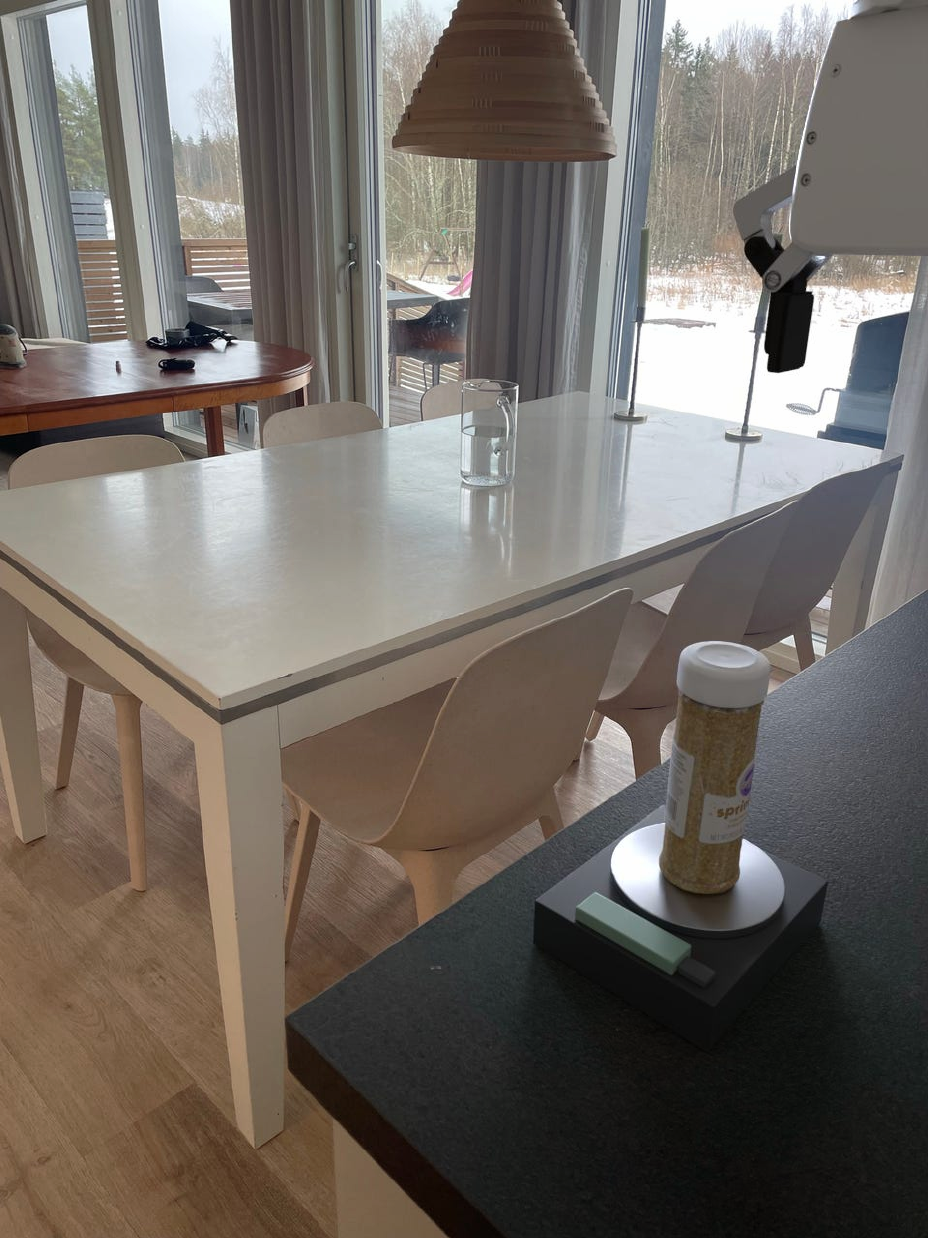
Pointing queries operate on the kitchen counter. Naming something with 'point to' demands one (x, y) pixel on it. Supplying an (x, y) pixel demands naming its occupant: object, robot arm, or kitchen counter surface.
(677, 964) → the scale
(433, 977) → the kitchen counter surface
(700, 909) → the scale pan
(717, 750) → the sprinkles bottle
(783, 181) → the robot arm
